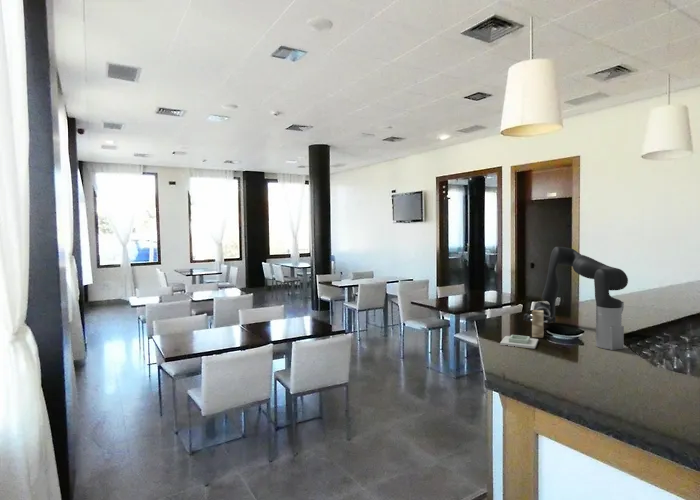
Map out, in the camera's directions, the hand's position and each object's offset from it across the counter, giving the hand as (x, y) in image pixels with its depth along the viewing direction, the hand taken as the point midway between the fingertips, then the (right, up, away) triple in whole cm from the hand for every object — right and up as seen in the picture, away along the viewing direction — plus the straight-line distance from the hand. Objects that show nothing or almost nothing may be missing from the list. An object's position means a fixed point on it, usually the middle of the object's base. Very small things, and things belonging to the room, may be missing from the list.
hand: (538, 320), depth 201 cm
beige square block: (-1, -7, -2) cm, 7 cm away
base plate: (-14, -8, -13) cm, 21 cm away
